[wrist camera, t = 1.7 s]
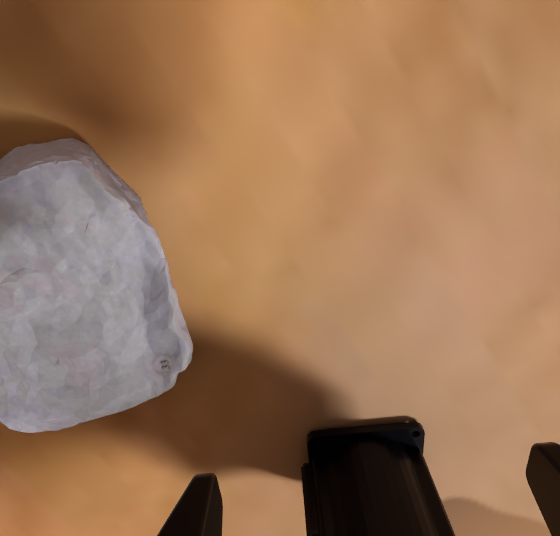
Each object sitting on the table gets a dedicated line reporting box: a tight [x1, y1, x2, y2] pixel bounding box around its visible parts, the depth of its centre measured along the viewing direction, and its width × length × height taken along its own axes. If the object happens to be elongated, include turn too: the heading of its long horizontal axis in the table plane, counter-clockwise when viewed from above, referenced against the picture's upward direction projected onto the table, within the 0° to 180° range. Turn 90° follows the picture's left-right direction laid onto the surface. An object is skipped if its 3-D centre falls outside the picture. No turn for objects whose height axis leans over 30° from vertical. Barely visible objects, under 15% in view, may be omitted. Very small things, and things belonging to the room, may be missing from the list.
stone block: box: [0, 138, 193, 433], centre depth 18 cm, size 12×5×10 cm
